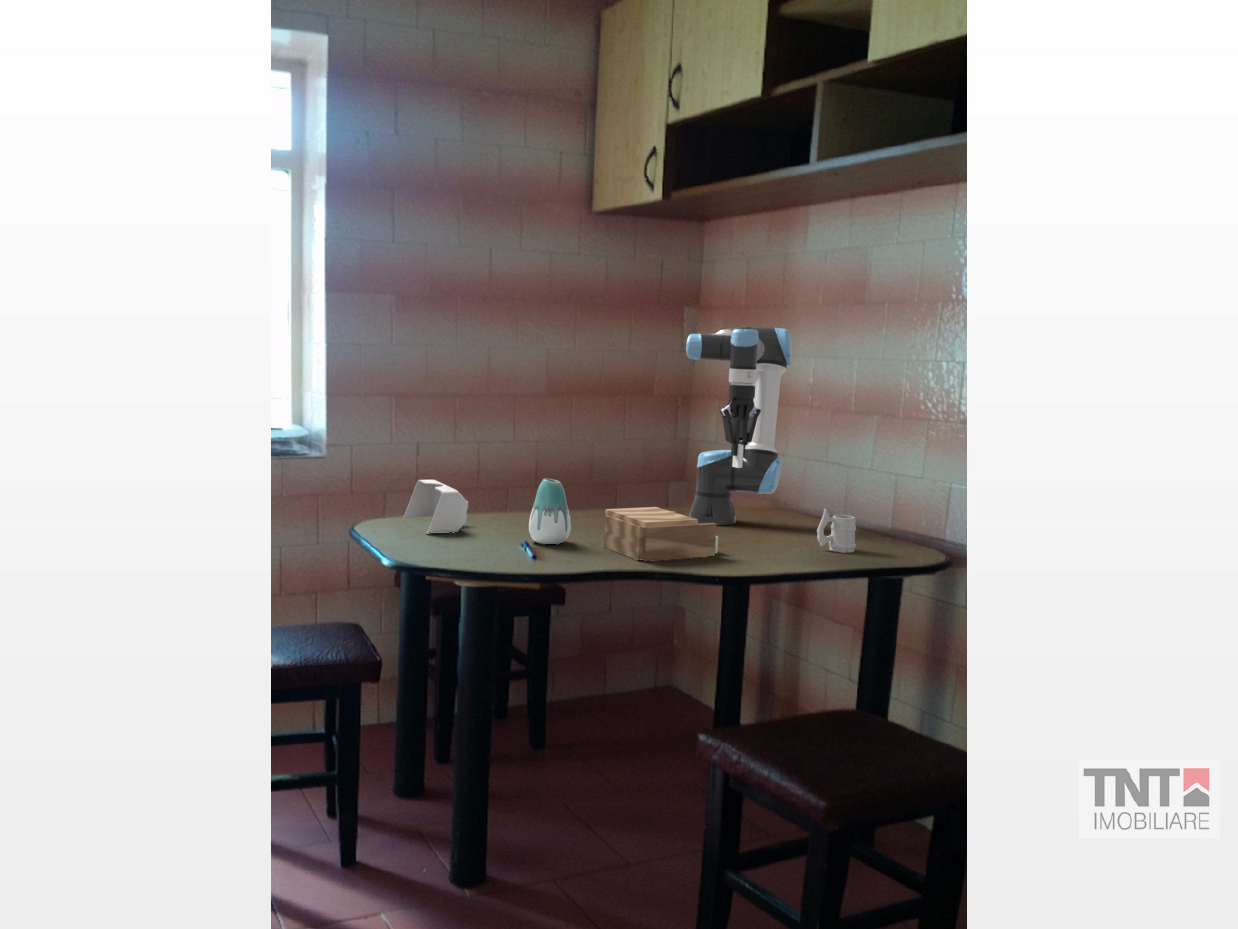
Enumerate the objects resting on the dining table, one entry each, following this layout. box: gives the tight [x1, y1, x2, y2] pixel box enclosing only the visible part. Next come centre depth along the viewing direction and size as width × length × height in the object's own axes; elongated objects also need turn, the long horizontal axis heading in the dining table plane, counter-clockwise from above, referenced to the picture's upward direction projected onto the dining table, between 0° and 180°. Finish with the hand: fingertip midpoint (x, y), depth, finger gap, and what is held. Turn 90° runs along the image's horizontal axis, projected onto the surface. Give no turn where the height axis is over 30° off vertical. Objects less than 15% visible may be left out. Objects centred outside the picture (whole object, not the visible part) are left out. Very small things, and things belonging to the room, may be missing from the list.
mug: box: [816, 508, 857, 554], centre depth 303 cm, size 8×12×12 cm, turn 103°
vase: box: [528, 478, 571, 545], centre depth 294 cm, size 12×12×18 cm
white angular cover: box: [403, 479, 469, 533], centre depth 312 cm, size 25×16×12 cm, turn 27°
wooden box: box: [603, 506, 718, 562], centre depth 289 cm, size 21×24×10 cm
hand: (737, 467), depth 300 cm, fingers closed
